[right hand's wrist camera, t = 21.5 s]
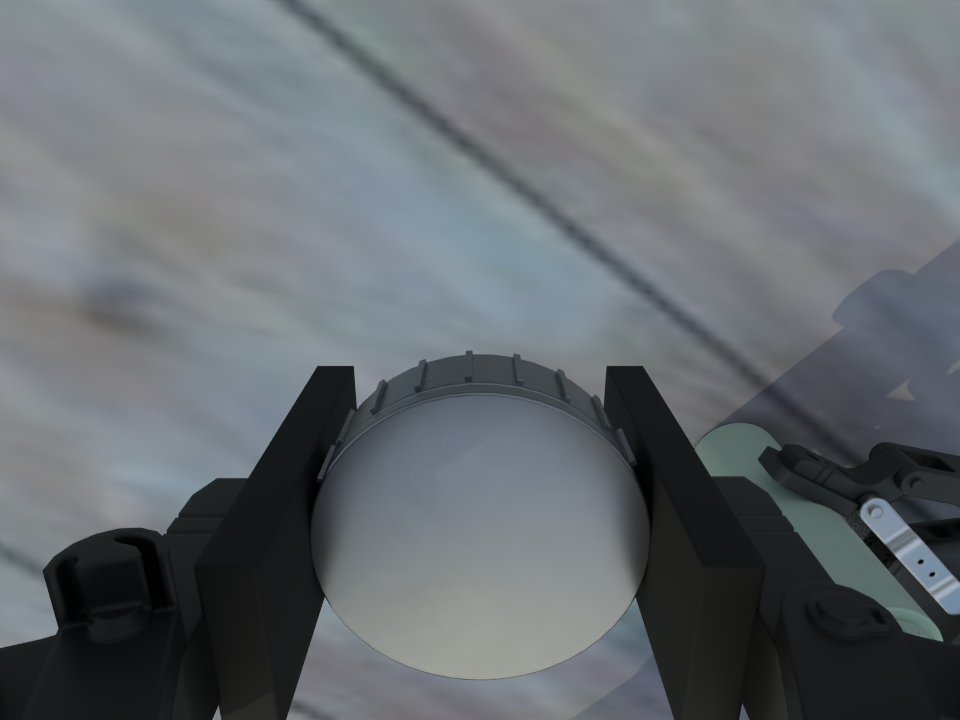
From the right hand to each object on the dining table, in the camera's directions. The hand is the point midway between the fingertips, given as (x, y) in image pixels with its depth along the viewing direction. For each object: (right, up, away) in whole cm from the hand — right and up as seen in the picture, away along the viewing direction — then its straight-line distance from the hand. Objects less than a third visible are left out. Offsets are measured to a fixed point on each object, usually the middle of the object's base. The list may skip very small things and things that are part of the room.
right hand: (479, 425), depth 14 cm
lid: (0, -1, -4) cm, 4 cm away
